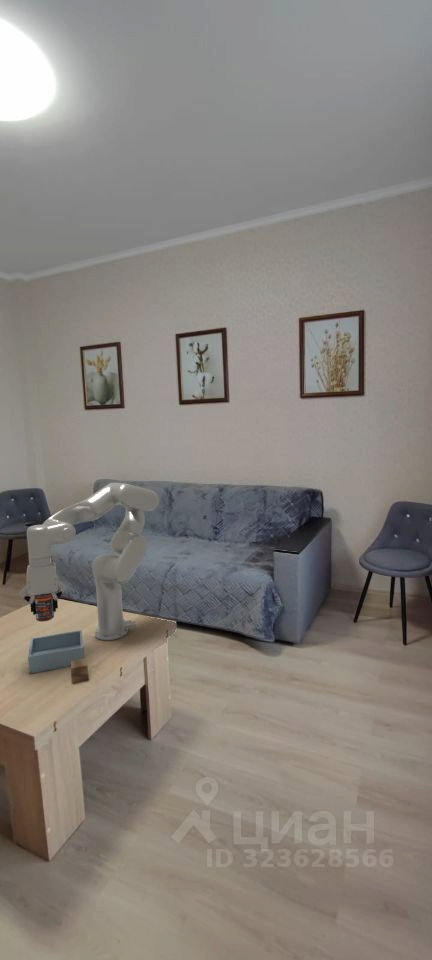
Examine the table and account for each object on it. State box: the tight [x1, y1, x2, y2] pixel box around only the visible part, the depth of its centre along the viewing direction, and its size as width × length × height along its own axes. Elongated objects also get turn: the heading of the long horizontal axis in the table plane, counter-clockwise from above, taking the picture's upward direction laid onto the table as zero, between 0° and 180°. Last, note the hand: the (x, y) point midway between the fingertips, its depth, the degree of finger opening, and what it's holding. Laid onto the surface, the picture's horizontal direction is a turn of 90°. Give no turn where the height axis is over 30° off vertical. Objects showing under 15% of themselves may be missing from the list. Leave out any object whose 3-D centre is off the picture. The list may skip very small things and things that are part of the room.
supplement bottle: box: [34, 593, 55, 622], centre depth 157 cm, size 6×6×11 cm
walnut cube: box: [70, 657, 89, 684], centre depth 148 cm, size 5×5×5 cm
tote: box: [27, 629, 85, 674], centre depth 160 cm, size 18×15×6 cm
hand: (44, 611), depth 158 cm, fingers closed on supplement bottle, 6 cm apart
